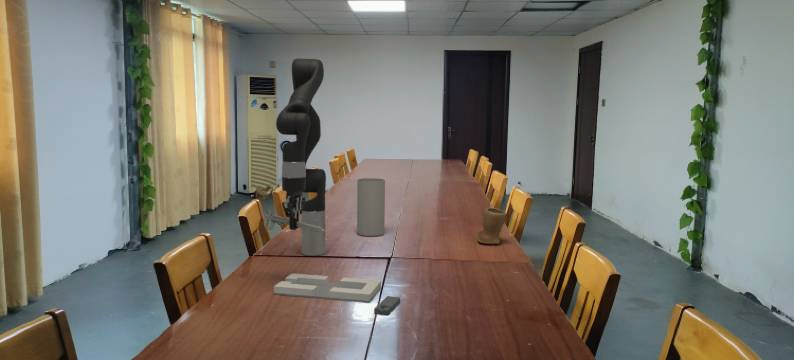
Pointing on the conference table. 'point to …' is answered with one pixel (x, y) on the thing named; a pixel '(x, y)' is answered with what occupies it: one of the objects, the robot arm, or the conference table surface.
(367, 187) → the cylinder vase
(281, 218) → the caliper
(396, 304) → the bracket
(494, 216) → the brown boot-shaped vase
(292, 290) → the case insert
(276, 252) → the conference table surface
